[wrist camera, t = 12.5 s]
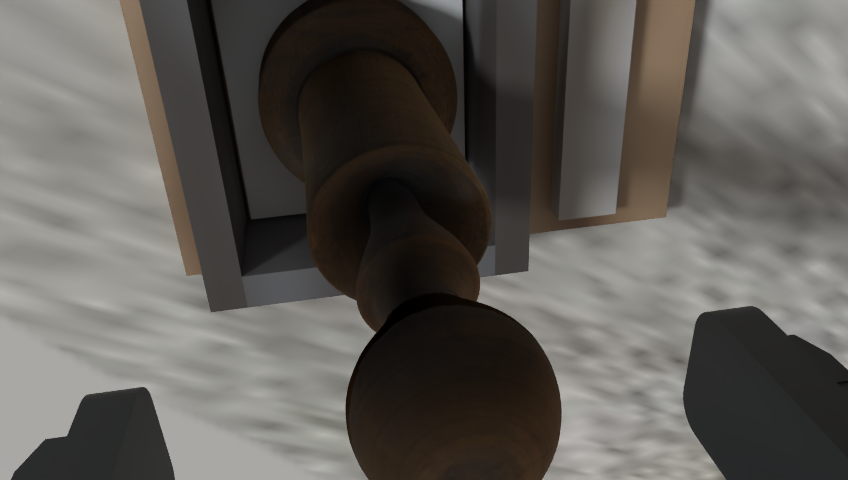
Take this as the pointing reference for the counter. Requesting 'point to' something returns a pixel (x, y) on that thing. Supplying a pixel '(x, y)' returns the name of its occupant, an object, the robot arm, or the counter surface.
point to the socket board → (472, 133)
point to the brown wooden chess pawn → (405, 246)
